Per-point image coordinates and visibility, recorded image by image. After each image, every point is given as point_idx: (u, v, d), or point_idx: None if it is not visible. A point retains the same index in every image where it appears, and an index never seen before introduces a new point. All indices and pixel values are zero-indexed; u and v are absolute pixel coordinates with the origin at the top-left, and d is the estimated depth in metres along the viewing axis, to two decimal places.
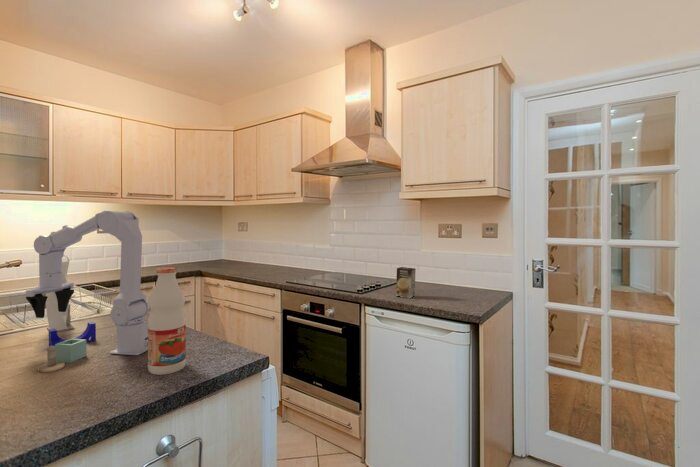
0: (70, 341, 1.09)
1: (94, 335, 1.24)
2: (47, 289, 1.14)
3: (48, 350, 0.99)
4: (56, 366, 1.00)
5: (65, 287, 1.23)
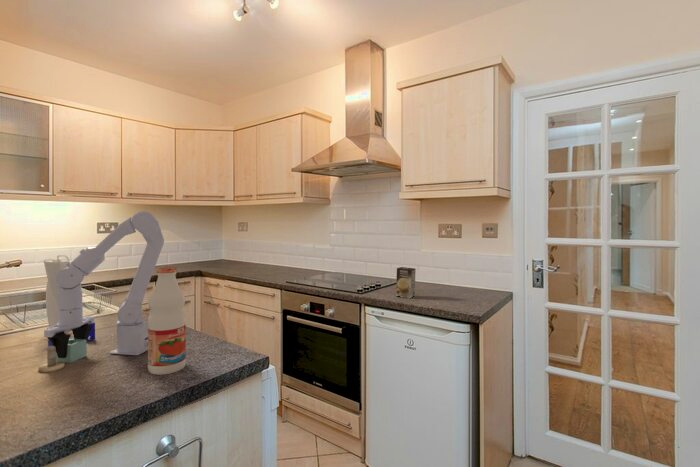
0: (70, 341, 1.09)
1: (93, 334, 1.24)
2: (67, 327, 1.04)
3: (48, 350, 0.99)
4: (56, 366, 1.00)
5: (85, 322, 1.12)
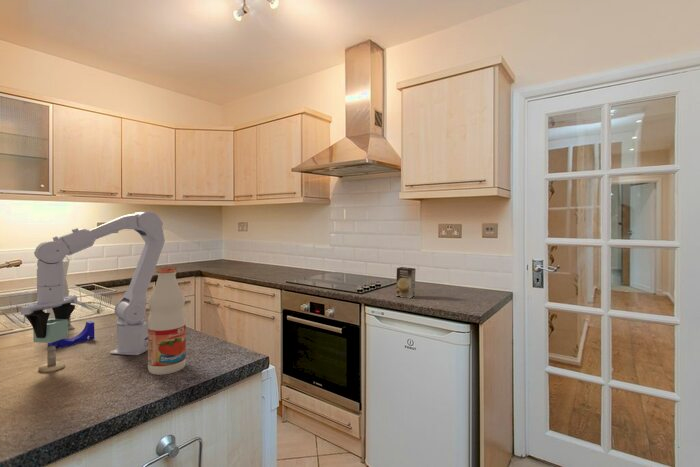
0: (50, 321, 1.02)
1: (93, 334, 1.25)
2: (46, 305, 0.96)
3: (48, 350, 0.99)
4: (56, 366, 1.00)
5: (67, 301, 1.05)
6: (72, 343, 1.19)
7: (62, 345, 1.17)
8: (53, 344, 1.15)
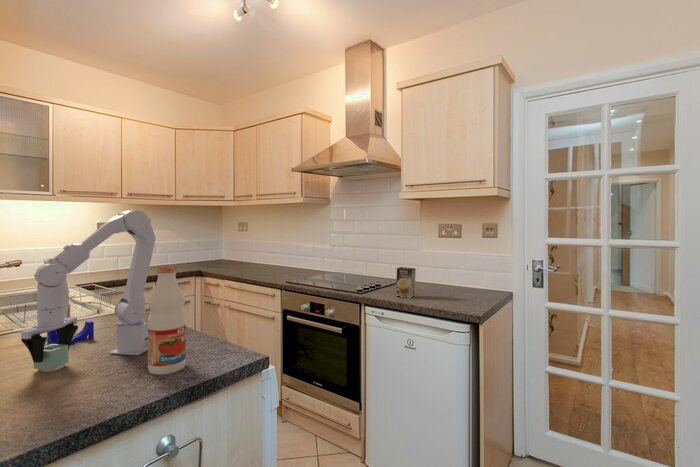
0: None
1: (92, 333, 1.25)
2: (46, 328, 0.97)
3: None
4: None
5: (67, 323, 1.05)
6: (71, 343, 1.20)
7: None
8: (52, 343, 1.16)
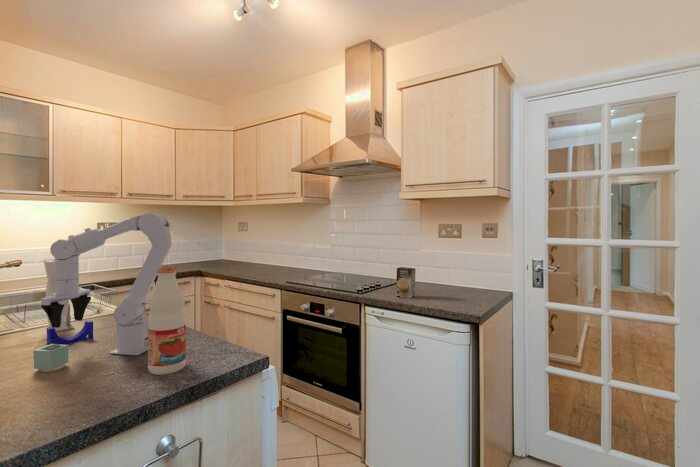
0: None
1: (91, 333, 1.26)
2: (63, 297, 1.07)
3: None
4: None
5: (81, 294, 1.15)
6: (71, 342, 1.20)
7: None
8: (52, 343, 1.16)
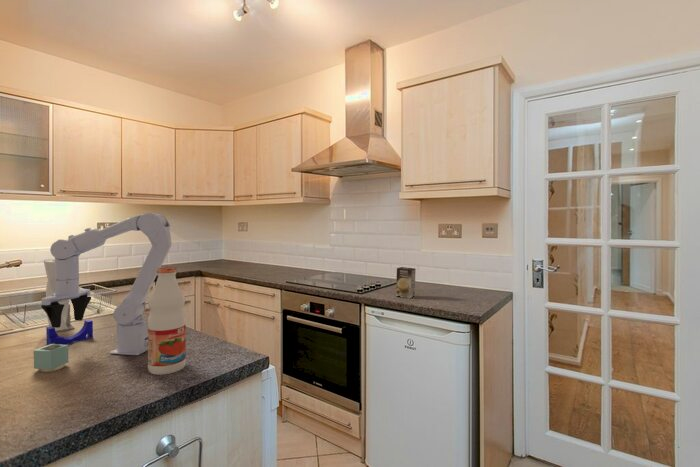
0: None
1: (91, 332, 1.26)
2: (64, 297, 1.07)
3: None
4: None
5: (82, 294, 1.15)
6: (70, 342, 1.20)
7: (61, 343, 1.18)
8: (52, 342, 1.16)
